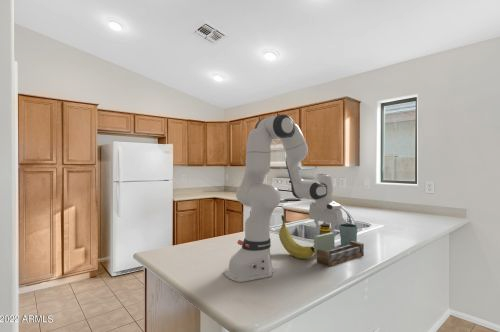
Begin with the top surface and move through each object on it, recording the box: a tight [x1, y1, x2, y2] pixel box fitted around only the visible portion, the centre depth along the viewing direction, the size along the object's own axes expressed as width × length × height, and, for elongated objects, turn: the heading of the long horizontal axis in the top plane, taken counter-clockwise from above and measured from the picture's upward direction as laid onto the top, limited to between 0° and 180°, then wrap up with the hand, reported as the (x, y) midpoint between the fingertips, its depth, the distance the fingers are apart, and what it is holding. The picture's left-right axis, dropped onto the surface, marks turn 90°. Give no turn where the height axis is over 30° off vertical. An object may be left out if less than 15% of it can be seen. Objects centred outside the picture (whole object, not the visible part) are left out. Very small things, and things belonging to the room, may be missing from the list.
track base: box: [316, 241, 365, 267], centre depth 136 cm, size 28×7×6 cm, turn 125°
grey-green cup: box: [338, 223, 358, 247], centre depth 158 cm, size 10×10×12 cm
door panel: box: [313, 231, 335, 257], centre depth 145 cm, size 14×2×10 cm, turn 124°
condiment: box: [319, 223, 331, 235], centre depth 161 cm, size 7×8×12 cm
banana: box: [278, 214, 314, 260], centre depth 140 cm, size 23×6×20 cm, turn 39°
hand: (325, 229), depth 145 cm, fingers open, 8 cm apart
